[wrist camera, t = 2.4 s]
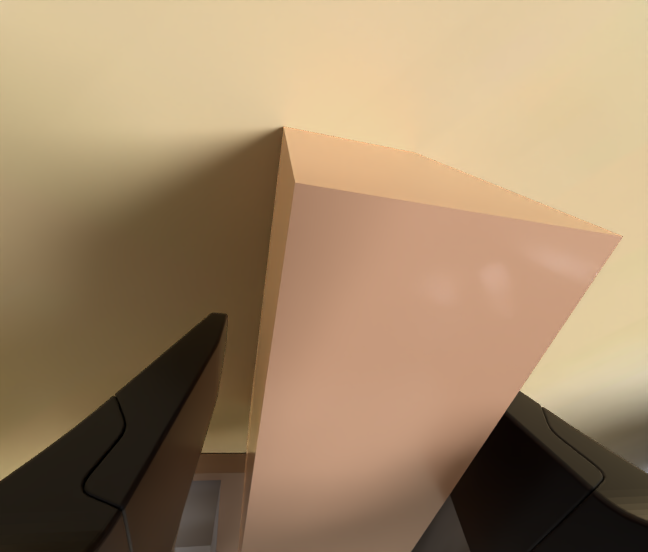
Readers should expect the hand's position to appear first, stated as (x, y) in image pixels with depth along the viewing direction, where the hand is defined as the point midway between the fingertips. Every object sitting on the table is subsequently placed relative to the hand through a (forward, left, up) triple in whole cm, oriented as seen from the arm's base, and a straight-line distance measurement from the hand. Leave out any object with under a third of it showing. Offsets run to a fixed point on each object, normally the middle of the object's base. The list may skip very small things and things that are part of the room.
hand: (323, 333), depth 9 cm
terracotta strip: (0, 0, -2) cm, 2 cm away
